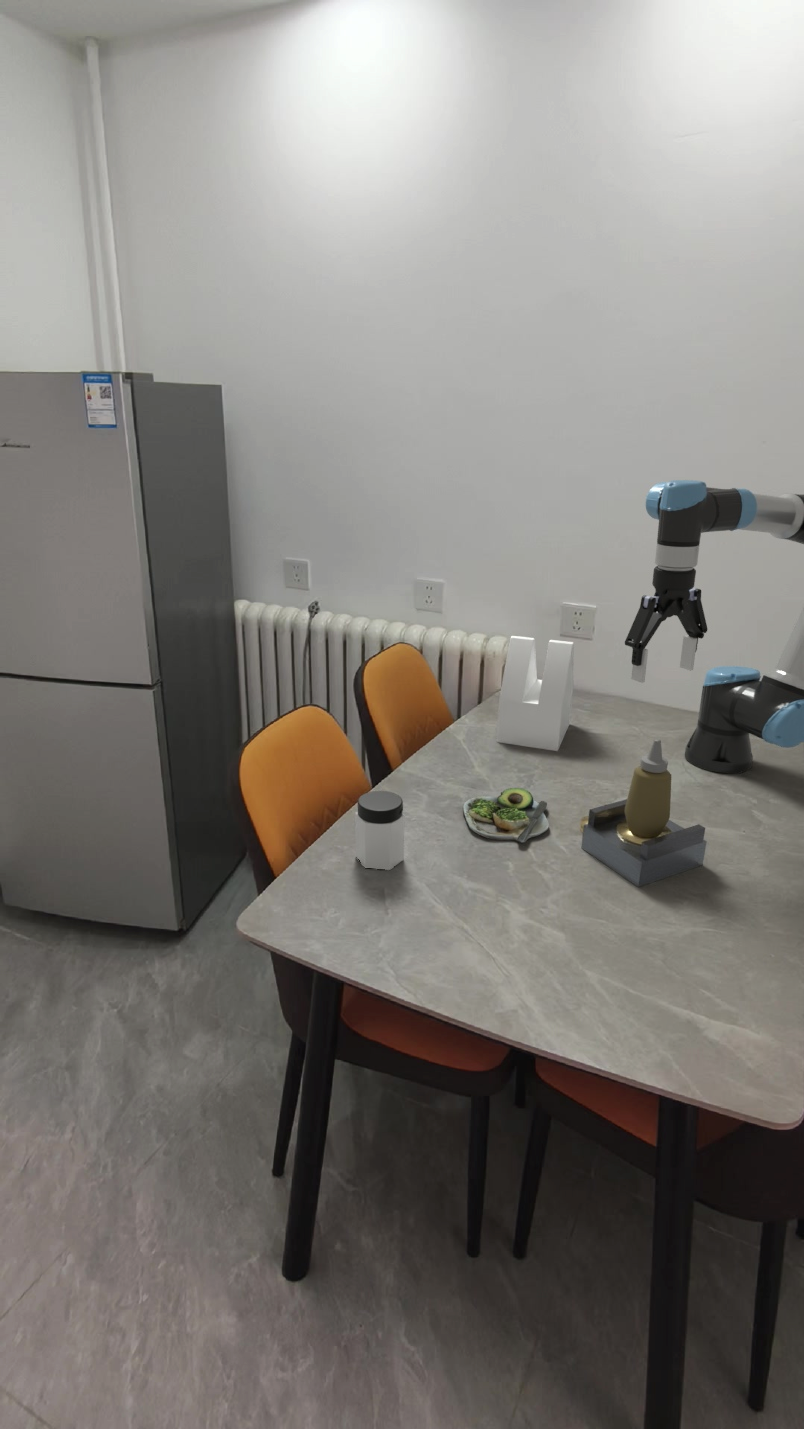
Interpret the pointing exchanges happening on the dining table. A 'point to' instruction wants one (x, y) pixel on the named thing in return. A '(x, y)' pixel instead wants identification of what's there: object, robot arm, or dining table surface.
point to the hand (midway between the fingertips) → (662, 674)
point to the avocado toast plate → (508, 815)
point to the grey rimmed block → (641, 846)
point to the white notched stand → (536, 695)
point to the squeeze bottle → (649, 795)
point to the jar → (379, 830)
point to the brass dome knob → (583, 823)
